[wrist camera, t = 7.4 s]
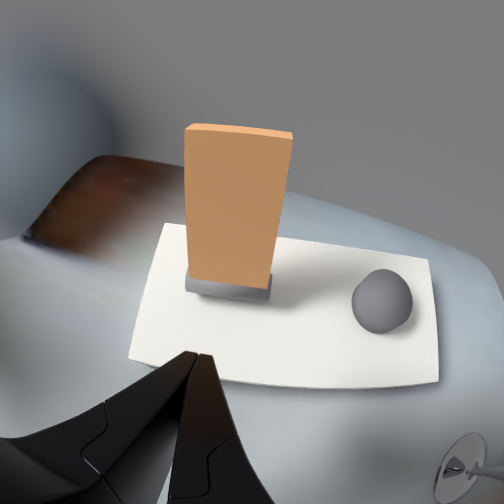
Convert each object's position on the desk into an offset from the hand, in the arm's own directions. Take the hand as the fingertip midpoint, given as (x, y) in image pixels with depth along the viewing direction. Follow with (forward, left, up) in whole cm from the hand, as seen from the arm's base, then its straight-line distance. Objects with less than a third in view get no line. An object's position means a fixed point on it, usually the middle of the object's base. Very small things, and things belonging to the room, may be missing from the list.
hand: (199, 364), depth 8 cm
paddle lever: (+2, -5, -5) cm, 7 cm away
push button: (-6, -8, -6) cm, 12 cm away
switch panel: (-2, -6, -9) cm, 12 cm away
